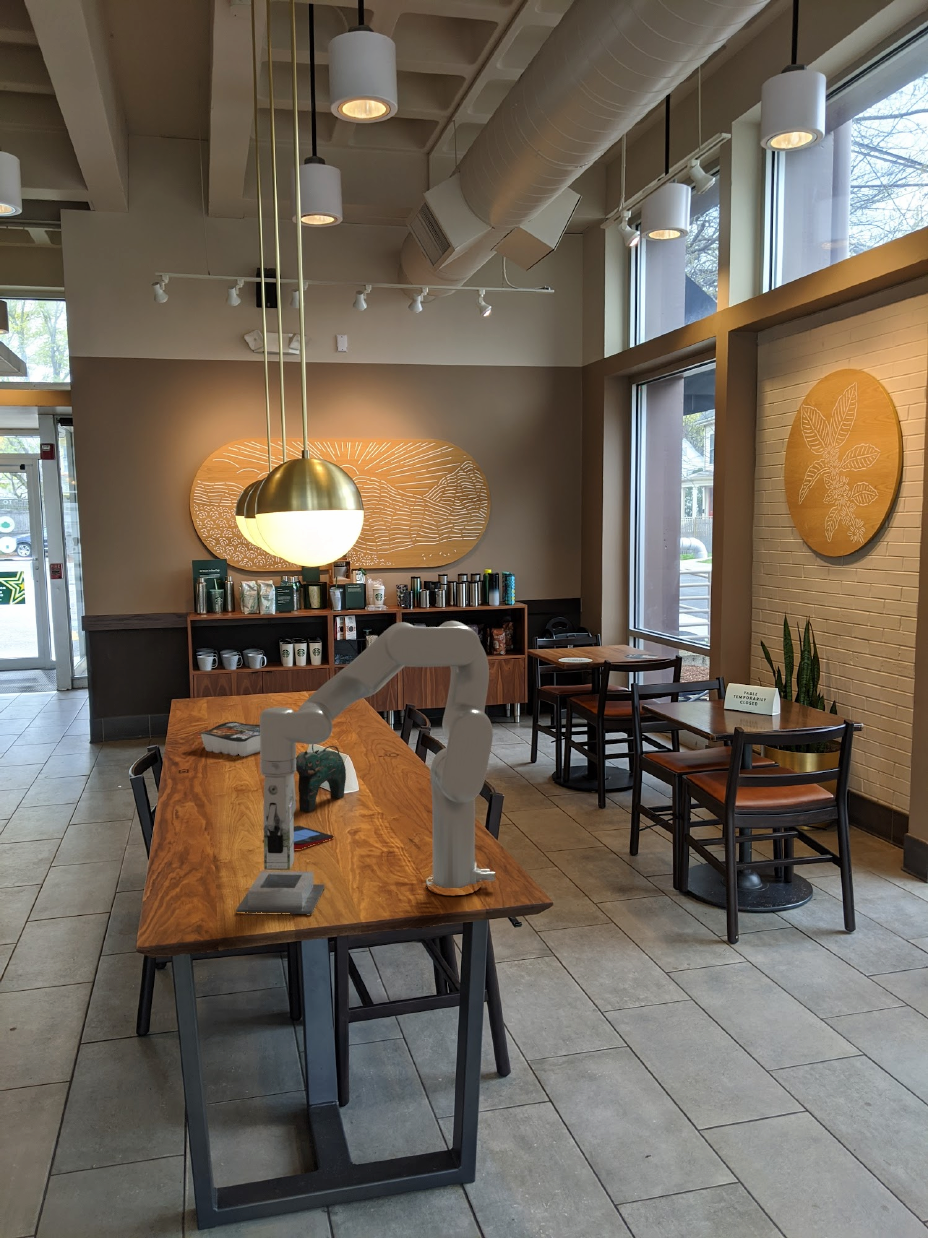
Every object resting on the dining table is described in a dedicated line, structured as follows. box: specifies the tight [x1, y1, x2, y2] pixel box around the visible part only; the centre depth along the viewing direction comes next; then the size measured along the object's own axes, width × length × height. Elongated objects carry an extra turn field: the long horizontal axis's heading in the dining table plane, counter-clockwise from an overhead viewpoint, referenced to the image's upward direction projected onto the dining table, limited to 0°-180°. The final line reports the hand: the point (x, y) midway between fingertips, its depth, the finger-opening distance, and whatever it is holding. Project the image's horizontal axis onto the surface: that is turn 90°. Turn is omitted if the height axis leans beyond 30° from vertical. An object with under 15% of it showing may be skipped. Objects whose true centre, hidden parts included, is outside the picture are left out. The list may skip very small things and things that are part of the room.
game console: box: [293, 825, 335, 849], centre depth 241 cm, size 14×13×2 cm
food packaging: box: [197, 721, 260, 758], centre depth 337 cm, size 25×8×23 cm
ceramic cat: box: [296, 744, 347, 814], centre depth 270 cm, size 20×6×20 cm, turn 151°
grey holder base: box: [235, 870, 325, 915], centre depth 201 cm, size 16×14×4 cm
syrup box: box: [262, 802, 295, 871], centre depth 200 cm, size 6×6×14 cm
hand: (279, 846), depth 200 cm, fingers closed on syrup box, 6 cm apart
